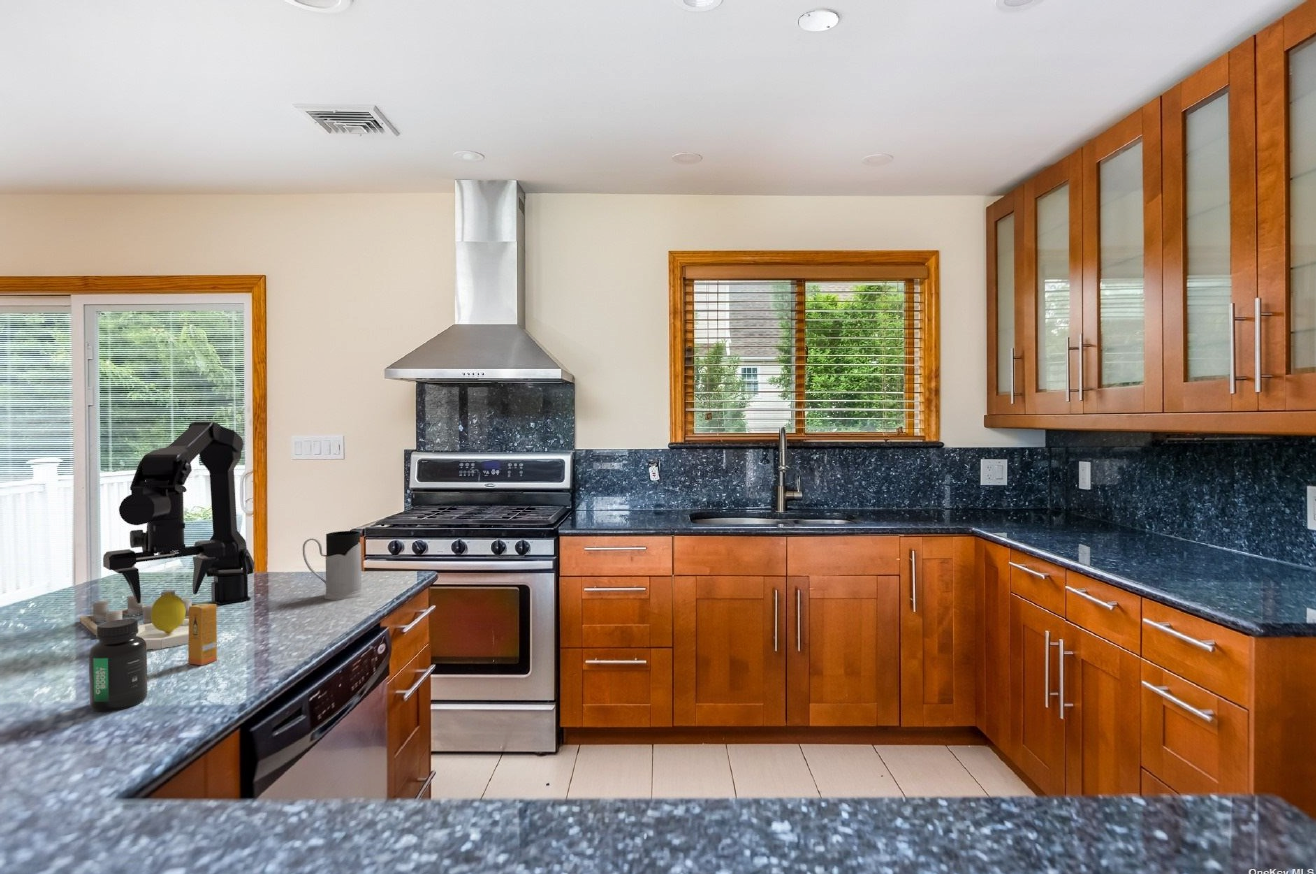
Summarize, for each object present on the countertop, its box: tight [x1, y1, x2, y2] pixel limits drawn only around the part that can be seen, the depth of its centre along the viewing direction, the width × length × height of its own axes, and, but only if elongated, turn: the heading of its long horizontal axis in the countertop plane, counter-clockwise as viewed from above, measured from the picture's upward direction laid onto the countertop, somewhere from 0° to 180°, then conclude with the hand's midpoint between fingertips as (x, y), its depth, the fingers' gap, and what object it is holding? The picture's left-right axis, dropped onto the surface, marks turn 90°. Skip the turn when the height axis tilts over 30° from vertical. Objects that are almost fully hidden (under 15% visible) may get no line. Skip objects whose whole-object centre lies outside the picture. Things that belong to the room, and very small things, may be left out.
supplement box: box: [187, 603, 218, 666], centre depth 122 cm, size 3×3×10 cm
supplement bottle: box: [88, 618, 148, 712], centre depth 104 cm, size 7×7×12 cm
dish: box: [136, 619, 189, 650], centre depth 136 cm, size 14×14×2 cm
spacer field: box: [79, 589, 193, 637], centre depth 149 cm, size 18×18×4 cm
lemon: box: [151, 593, 186, 634], centre depth 136 cm, size 6×6×8 cm
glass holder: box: [302, 530, 364, 601], centre depth 170 cm, size 9×14×15 cm, turn 89°
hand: (167, 598), depth 136 cm, fingers open, 9 cm apart
